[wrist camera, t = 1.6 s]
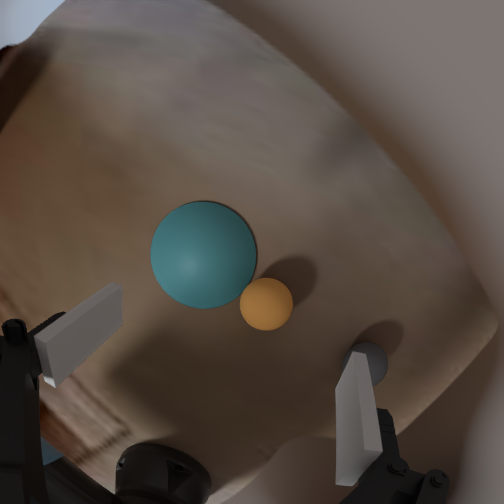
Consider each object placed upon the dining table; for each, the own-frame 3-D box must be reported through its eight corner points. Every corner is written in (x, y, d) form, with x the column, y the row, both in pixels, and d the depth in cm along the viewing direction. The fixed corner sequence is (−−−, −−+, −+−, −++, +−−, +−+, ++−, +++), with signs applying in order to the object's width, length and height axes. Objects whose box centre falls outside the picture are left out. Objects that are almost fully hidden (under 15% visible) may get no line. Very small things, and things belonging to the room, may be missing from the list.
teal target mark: (265, 297, 35) (265, 298, 35) (164, 315, 35) (164, 315, 35) (244, 191, 34) (244, 191, 34) (141, 214, 34) (141, 214, 34)
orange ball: (293, 315, 35) (300, 332, 30) (246, 324, 35) (244, 342, 30) (285, 269, 35) (290, 278, 29) (236, 278, 35) (233, 289, 29)
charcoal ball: (379, 368, 36) (395, 388, 30) (339, 379, 36) (350, 401, 30) (377, 330, 35) (394, 347, 30) (335, 341, 35) (347, 360, 30)
